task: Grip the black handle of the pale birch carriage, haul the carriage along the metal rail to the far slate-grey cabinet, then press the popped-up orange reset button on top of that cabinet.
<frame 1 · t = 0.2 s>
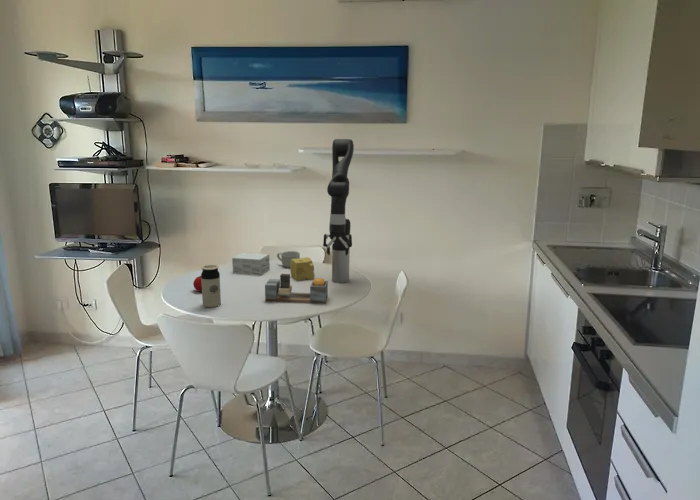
hand: (337, 255, 258), 17 cm above the table, tool pointing down, fingers open, 8 cm apart
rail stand: (296, 299, 244), on the table
teacup: (288, 266, 302), on the table
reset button: (319, 283, 242), point 8 cm above the table, slide at 0.0 cm
cheese: (302, 278, 279), on the table
travel mug: (211, 305, 235), on the table
tomato: (203, 291, 255), on the table
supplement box: (251, 272, 290), on the table
carriage: (285, 283, 243), point 8 cm above the table, slide at 0.0 cm
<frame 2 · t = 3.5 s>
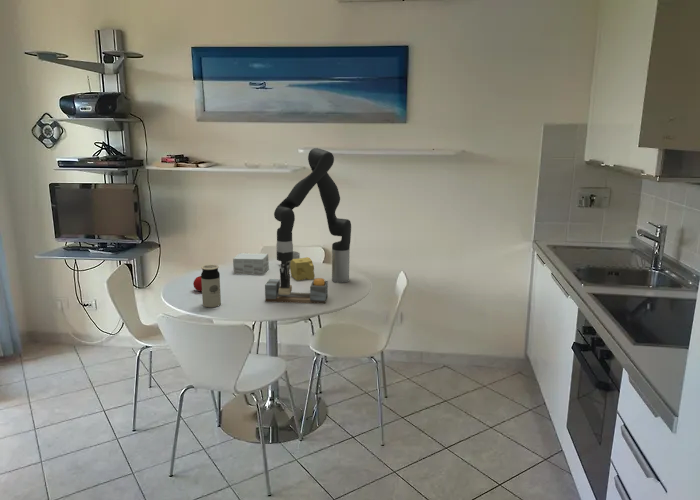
hand: (285, 285, 243), 7 cm above the table, tool pointing down, fingers closed on carriage, 3 cm apart
carriage: (285, 283, 243), point 8 cm above the table, slide at 0.0 cm, touching gripper
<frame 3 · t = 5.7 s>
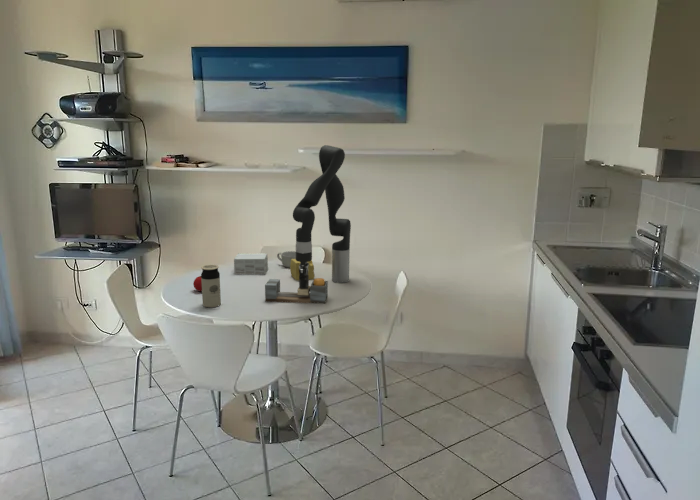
hand: (303, 286, 242), 7 cm above the table, tool pointing down, fingers closed on carriage, 3 cm apart
carriage: (303, 284, 242), point 8 cm above the table, slide at 8.9 cm, touching gripper
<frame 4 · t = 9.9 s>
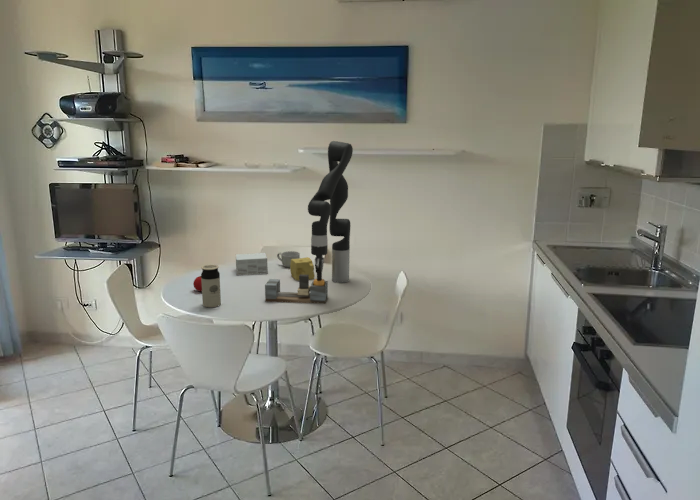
hand: (319, 280, 241), 10 cm above the table, tool pointing down, fingers closed
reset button: (319, 284, 242), point 8 cm above the table, slide at 0.3 cm, touching gripper
carriage: (304, 284, 242), point 8 cm above the table, slide at 8.9 cm
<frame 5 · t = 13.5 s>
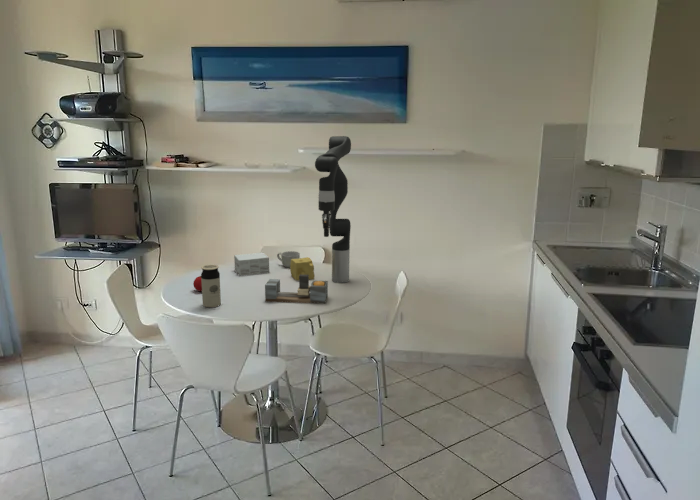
hand: (326, 236, 244), 29 cm above the table, tool pointing down, fingers closed
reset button: (319, 286, 242), point 6 cm above the table, slide at 1.4 cm
at the end: carriage slide at 8.9 cm; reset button slide at 1.4 cm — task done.
